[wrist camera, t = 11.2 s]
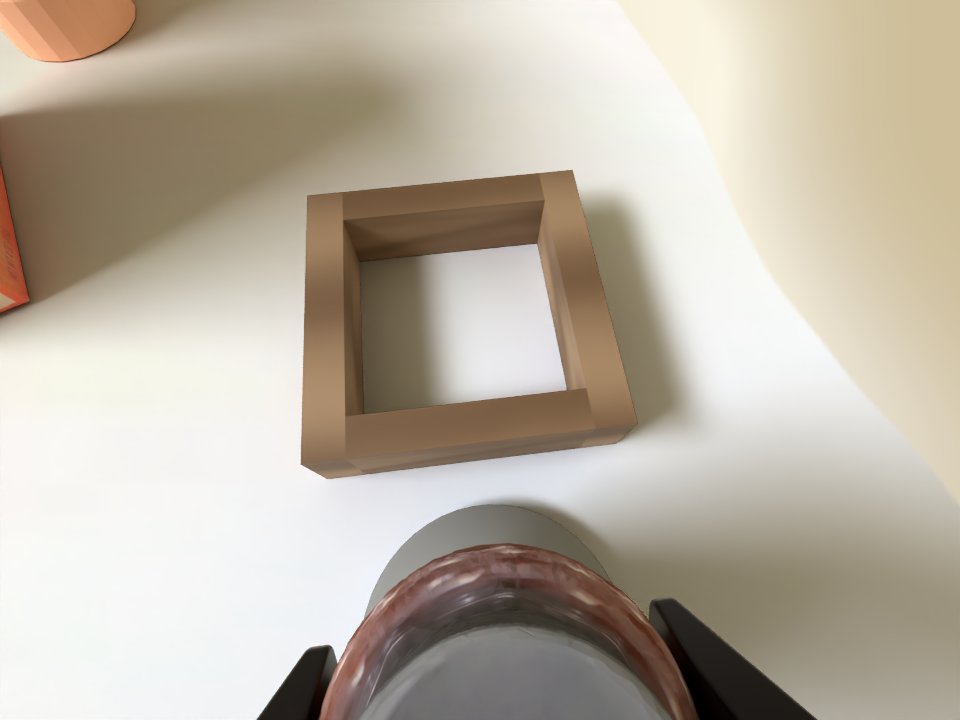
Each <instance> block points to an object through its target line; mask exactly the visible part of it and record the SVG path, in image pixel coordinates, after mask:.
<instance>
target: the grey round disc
mask: <svg viewBox="0 0 960 720" xmlns="http://www.w3.org/2000/svg"><path fill="white" fill-rule="evenodd" d="M501 543H512V544H521V545H527V546H533V547H538V548H542V549H546V550H551V551H554V552H557V553H559V554H561V555H564V556H566V557H569V558H571V559H573V560H575V561H578V562H580V563H582V564H583V565H585V566H586V567H588V568H589V569H591V570H593V571H594V572H596V573H597V574H599V575H600V576H602V577H603V578H605V579H606V580H608V581H609V582H611V581H610V579H609V577H608V576H607V574H606V572H605V571H604V569H603V567H602V566H601V564H600V563H599V562H598V560H597V559H596V558H595V556H594V555H593V554H592V553H591V551H590V550H589V549H588V548H587V547H586V546H585V545H584V544H583V543H582V542H581V541H580V540H579V539H578V538H577V537H576V536H574V535H573V534H572V533H571V532H569V531H568V530H567V529H566V528H564V527H563V526H561V525H559V524H558V523H556V522H555V521H553V520H551V519H549V518H547V517H545V516H543V515H541V514H538V513H536V512H533V511H530V510H526V509H523V508H520V507H513V506H507V505H480V506H472V507H468V508H464V509H460V510H456V511H454V512H451V513H449V514H446V515H444V516H442V517H440V518H438V519H436V520H434V521H433V522H431V523H429V524H427V525H426V526H425V527H423V528H422V529H421V530H419V531H418V532H417V533H415V534H414V535H413V536H412V537H411V538H410V539H409V540H408V541H407V542H406V543H405V544H404V545H402V546H401V548H400V549H399V550H398V551H397V553H396V554H395V555H394V556H393V558H392V559H391V560H390V561H389V563H388V565H387V566H386V568H385V569H384V571H383V573H382V574H381V576H380V578H379V580H378V582H377V584H376V586H375V588H374V590H373V592H372V595H371V598H370V601H369V604H368V607H367V609H366V613H365V617H364V619H365V618H366V617H367V616H368V614H369V613H370V612H371V611H372V610H373V609H374V607H375V606H376V605H377V604H378V603H379V602H380V601H381V600H382V599H383V597H384V596H385V595H386V593H387V592H388V591H390V590H391V589H392V588H393V587H394V586H396V585H397V584H398V583H399V582H400V581H401V580H403V579H405V578H407V577H408V575H409V574H411V573H413V572H414V571H416V570H417V569H418V568H420V567H423V566H424V565H426V564H427V563H429V562H430V561H432V560H433V559H436V558H440V557H442V556H444V555H447V554H450V553H452V552H454V551H456V550H460V549H465V548H469V547H473V546H477V545H486V544H501ZM611 583H612V582H611Z"/></svg>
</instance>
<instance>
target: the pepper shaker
mask: <svg viewBox="0 0 960 720" xmlns="http://www.w3.org/2000/svg"><path fill="white" fill-rule="evenodd" d="M135 9H136V7H135V5H134V4H133V2H132V0H0V29H1V31H2V32H3V33H4V34H5V35H6V36H7V37H8V38H9V39H10V41H11V42H12V43H13V44H14V45H15V46H16V47H17V48H18V49H19V50H20V51H22V52H23V53H24V54H25V55H27V56H28V57H31V58H35V59H38V60H42V61H60V62H63V61H68V60H74V59H80V58H84V57H87V56H89V55H92V54H95V53H98V52H100V51H102V50H104V49H106V48H107V47H109V46H111V45H112V44H114V43H116V42H117V41H118V40H119V39H120V38H121V37H123V36H124V35H125V34H126V33H127V32H128V31H129V29H130V27H131V26H132V24H133V22H134V20H135Z"/></svg>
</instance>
